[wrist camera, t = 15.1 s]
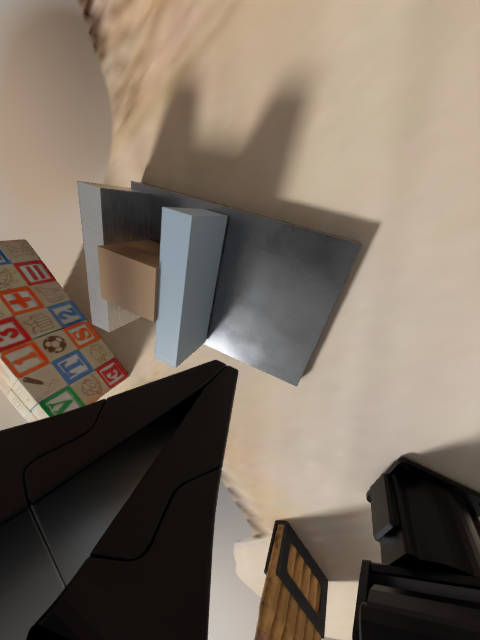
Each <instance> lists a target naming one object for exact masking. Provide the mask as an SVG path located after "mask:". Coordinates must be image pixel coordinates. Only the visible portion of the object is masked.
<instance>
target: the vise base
mask: <svg viewBox="0 0 480 640" xmlns="http://www.w3.org/2000/svg"><path fill="white" fill-rule="evenodd" d="M77 184H78V193H79V203H80V212H81V222H82V232H83V242H84V252H85V261H86V271H87V281H88V290H89V300H90V310H91V319H92V324H93V325H95V326H97V327H99V328H101V329H103V330H105V331H107V332H111V331H113V330H116V329H118V328H120V327H122V326H124V325H126V324H128V323H130V322H132V321H134V320H136V319H138V318H140V317H141V316H139V315H136V314H134V313H132V312H130V311H128V310H125V309H123V308H121V307H119V306H117V305H115V304H112V303H110V302H108V301H106V300H104V299H101V289H100V276H99V262H98V249H97V246H101V245H109V244H118V243H126V242H135V241H144V240H152V241H154V242H157V243H160V242H161V222H162V207H176V208H195V209H206V210H209V211H213V212H216V213H220V214H223V215H227V216H228V218H227V223H226V229H225V235H224V240H223V246H222V252H221V257H220V263H219V269H218V275H217V280H216V286H215V292H214V297H213V303H212V309H211V314H210V320H209V326H208V331H207V337H206V342H205V343H204V344H205V345H207V346H209V347H211V348H213V349H216V350H218V351H220V352H222V353H224V354H227V355H229V356H231V357H233V358H235V359H238V360H240V361H242V362H244V363H246V364H249V365H251V366H253V367H255V368H257V369H259V370H262V371H264V372H266V373H268V374H270V375H273V376H275V377H277V378H279V379H281V380H284V381H286V382H288V383H290V384H292V385H295V386H297V385H298V383H299V381H300V379H301V377H302V374H303V372H304V370H305V368H306V366H307V363H308V361H309V359H310V357H311V355H312V352H313V350H314V348H315V346H316V344H317V341H318V339H319V337H320V335H321V333H322V330H323V328H324V326H325V324H326V322H327V319H328V317H329V315H330V313H331V311H332V308H333V306H334V304H335V302H336V300H337V297H338V295H339V293H340V291H341V289H342V286H343V284H344V282H345V280H346V278H347V275H348V273H349V271H350V269H351V267H352V264H353V262H354V260H355V258H356V256H357V253H358V251H359V249H360V247H361V245H362V244H361V243H360V242H356V241H353V240H349V239H346V238H342V237H338V236H335V235H331V234H327V233H324V232H320V231H316V230H313V229H309V228H305V227H302V226H298V225H294V224H291V223H287V222H283V221H280V220H276V219H272V218H269V217H265V216H261V215H258V214H254V213H250V212H247V211H243V210H239V209H236V208H232V207H228V206H225V205H221V204H217V203H214V202H210V201H206V200H203V199H199V198H195V197H192V196H188V195H184V194H181V193H177V192H173V191H170V190H166V189H162V188H159V187H155V186H151V185H148V184H144V183H140V182H134V181H131V188H127V187H119V186H112V185H104V184H96V183H89V182H80V181H77ZM155 322H156V321H155Z"/></svg>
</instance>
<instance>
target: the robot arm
mask: <svg viewBox="0 0 480 640" xmlns="http://www.w3.org/2000/svg"><path fill="white" fill-rule="evenodd" d="M237 378H238V370H237V369H235V368H233V367H231V366H226V364H224V363H222V362H220V361H218V360H213V361H210V362H207V363H205V364H202V365H199V366H196V367H193V368H190V369H188V370H185V371H182V372H179V373H176V374H173V375H171V376H168V377H165V378H162V379H159V380H157V381H154V382H151V383H148V384H145V385H142V386H140V387H137V388H134V389H131V390H128V391H125V392H123V393H120V394H117V395H114V396H111V397H108V398H107V400H106V399H103V400H100V401H97V402H94V403H91V404H88V405H85V406H82V407H79V408H76V409H73V410H70V411H67V412H64V413H61V414H57V415H54V416H51V417H47V418H44V419H40V420H37V421H34V422H30V423H26V424H23V425H19V426H15V427H12V428H9V429H5V430H1V431H0V640H208V620H209V603H210V602H209V601H210V584H211V566H212V548H213V535H214V523H215V512H216V505H217V498H218V491H219V484H220V478H221V473H222V470H221V469H222V466H223V460H224V454H225V448H226V442H227V436H228V431H229V425H230V419H231V413H232V407H233V401H234V395H235V390H236V384H237ZM366 497H367V500H368V502H370V503H371V509H372V522H373V535H374V538H375V540H376V541H378V542H380V548H381V558H382V564H380V563H372V562H371V561H370V560H362V566H361V573H360V579H359V586H358V594H357V602H356V610H355V617H354V625H353V633H352V639H353V640H480V521H479V518H478V517H479V516H480V494H479V493H477V492H475V491H473V490H470V489H468V488H466V487H464V486H462V485H460V484H458V483H456V482H454V481H452V480H450V479H447V478H445V477H443V476H441V475H439V474H437V473H435V472H433V471H431V470H429V469H427V468H424V467H422V466H420V465H418V464H416V463H414V462H412V461H410V460H408V459H405V458H399V459H398V460H397V461H396V462H395V463H394V464H393V465H392V466H391V467H390V468H389V469H388V470H387V472H386V473H384V474H382V475H381V476H380V477H379V478H378V480H377V481H376V482H375V483H374V484H373V485H372V486H371V487H370V490H369V491H368V492H367V494H366Z"/></svg>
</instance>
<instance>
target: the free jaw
mask: <svg viewBox="0 0 480 640" xmlns="http://www.w3.org/2000/svg"><path fill="white" fill-rule="evenodd" d="M227 218H228V216H227V215H223V214H220V213H216V212H213V211H209V210H206V209H195V208H176V207H162V222H161V242H160V262H159V282H158V301H157V321H156V341H155V358H157V359H159V360H161V361H163V362H165V363H166V364H168V365H170V366H172V367H174V368H176V367H177V366H178V365H180V364H181V363H182V362H183V361H184V360H185V359H187V358H188V357H189V356H190V355H191V354H192V353H193V352H195V351H196V350H197V349H198V348H199V347H200V346H201V345H203V344H204V343H205V342H206V337H207V331H208V326H209V320H210V314H211V309H212V303H213V297H214V292H215V286H216V280H217V275H218V269H219V263H220V257H221V252H222V246H223V240H224V235H225V229H226V223H227Z"/></svg>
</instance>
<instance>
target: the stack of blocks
mask: <svg viewBox="0 0 480 640" xmlns="http://www.w3.org/2000/svg"><path fill="white" fill-rule="evenodd" d="M128 377H129V375H128V373H127V372H126V371H125V370H124V368H123V367H122V366H121V364H120V363H119V362H118V361H117V359H116V358H115V356H114V355H113V353H112V352H111V351H110V349H109V348H108V347H107V345H106V344H105V343H104V342H103V340H102V339H101V338H100V336H99V335H98V334H97V332H96V331H95V330H94V328H93V327H92V326H91V324H90V323H89V322H88V321H87V320H86V318H85V317H84V316H83V315H82V313H81V312H80V311H79V309H78V308H77V307H76V305H75V304H74V303H73V302H72V301H71V299H70V298H69V297H68V295H67V294H66V293H65V291H64V290H63V289H62V287H61V286H60V284H59V283H58V282H57V281H56V279H55V277H54V276H53V275H52V273H51V272H50V271H49V269H48V268H47V267H46V265H45V264H44V263H43V261H42V260H41V259H40V257H39V256H38V255H37V253H36V252H35V251H34V249H33V248H32V247H31V245H30V244H29V243H28V242H27V241H26V240H11V241H0V389H1V390H2V391H3V393H4V394H5V395H6V396H7V398H8V399H9V400H10V402H11V403H12V404H13V405H14V407H15V408H16V409H17V410H18V411H19V412H20V414H21V415H22V416H23V417H24V418H25V419H26V421H27V422H28V423H30V422H34V421H37V420H40V419H44V418H47V417H51V416H54V415H57V414H61V413H64V412H67V411H70V410H73V409H76V408H79V407H82V406H85V405H88V404H91V403H94V402H95V401H97V400H98V399H99V398H100V397H101V396H103V395H104V394H105V393H107V392H108V391H110V390H111V389H112V388H114V387H115V386H116V385H118V384H119V383H121V382H122V381H124V380H125V379H126V378H128Z"/></svg>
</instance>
